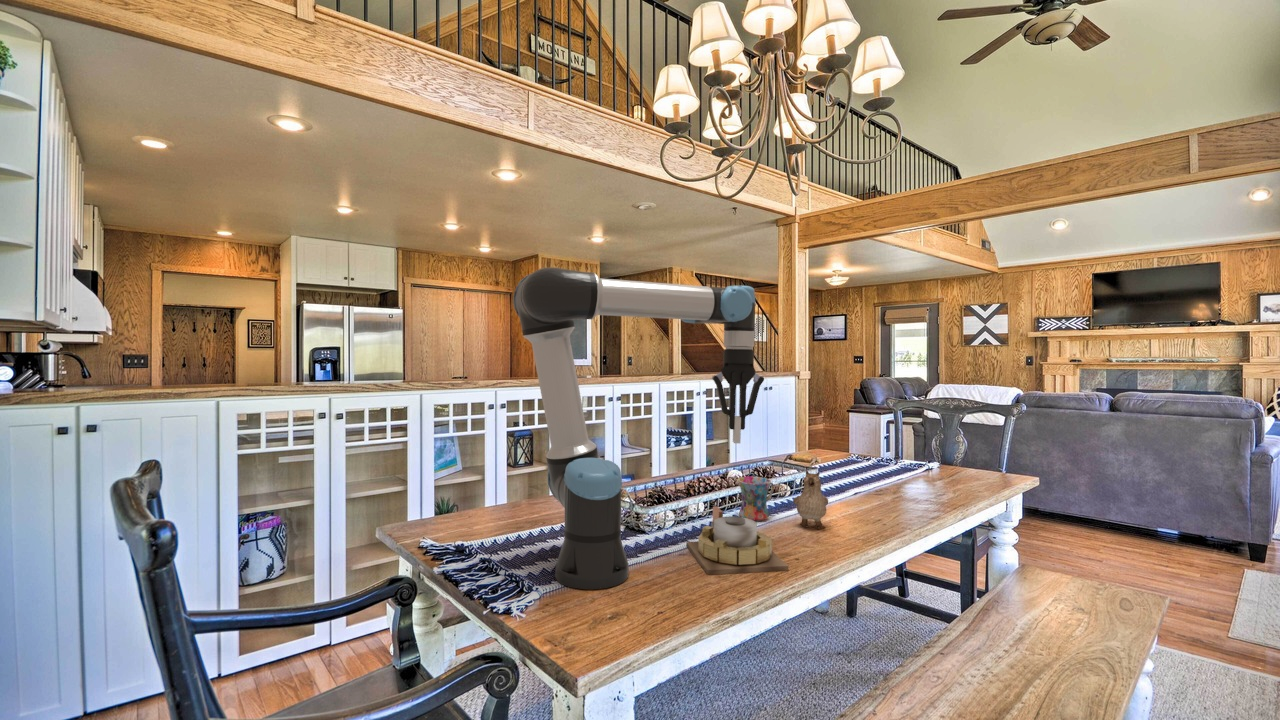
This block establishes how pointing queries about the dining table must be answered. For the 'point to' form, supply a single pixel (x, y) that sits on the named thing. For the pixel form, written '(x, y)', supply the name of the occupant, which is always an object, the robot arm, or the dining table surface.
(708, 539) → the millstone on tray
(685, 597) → the dining table surface
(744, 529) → the housing
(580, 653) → the dining table surface
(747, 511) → the mug
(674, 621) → the dining table surface
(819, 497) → the figurine
